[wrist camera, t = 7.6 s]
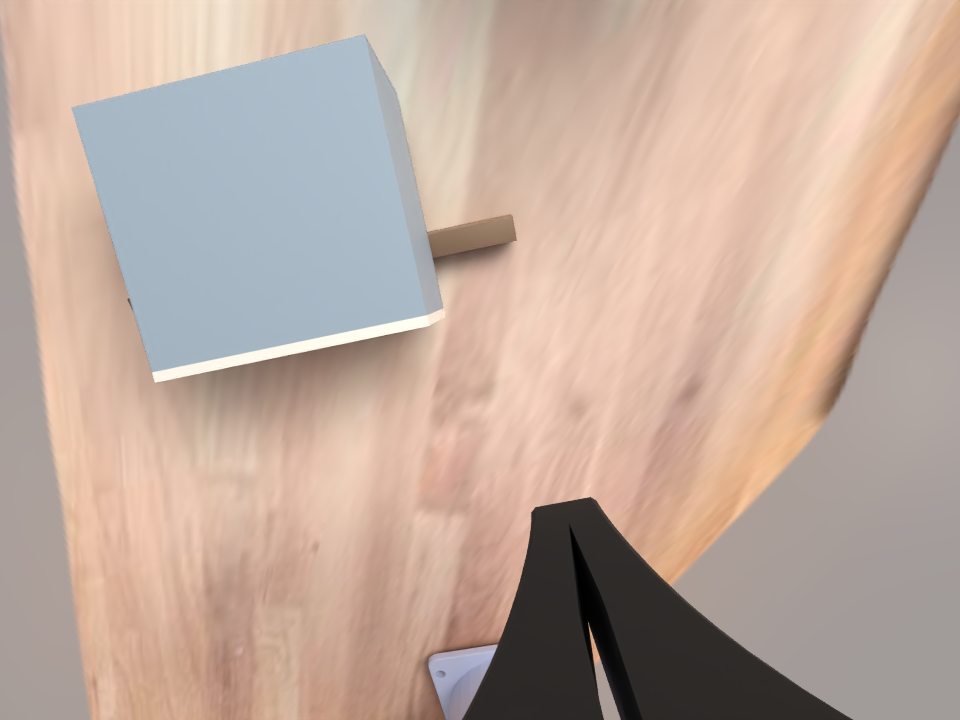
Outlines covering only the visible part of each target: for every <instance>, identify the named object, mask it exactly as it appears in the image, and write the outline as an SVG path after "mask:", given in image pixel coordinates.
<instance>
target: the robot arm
mask: <svg viewBox="0 0 960 720" xmlns="http://www.w3.org/2000/svg"><path fill="white" fill-rule="evenodd" d="M588 623H589V625H588ZM589 626H590V629H591V632H592V635H593V638H594V641H595V644H596V647H597V650H598V653H599V656H600V659H601V662H602V665H603V668H604V670H605V673H606V677H607V680H608V683H609V686H610V688H611V691H612V694H613V697H614V700H615V703H616V706H617V709H618V712H619V715H620V718H621V720H852V719H851V718H849V717H847V716H846V715H844V714H842V713H841V712H839V711H838V710H836V709H834V708H833V707H831V706H830V705H828V704H826V703H825V702H823V701H821V700H820V699H818V698H817V697H815V696H814V695H812V694H810V693H809V692H807V691H806V690H804V689H802V688H801V687H799V686H798V685H797V684H795V683H794V682H792V681H791V680H789V679H788V678H787V677H785V676H784V675H782V674H780V673H779V672H778V671H776V670H775V669H774V668H772V667H771V666H769V665H768V664H766V663H765V662H763V661H762V660H760V659H759V658H758V657H756V656H755V655H753V654H752V653H750V652H749V651H748V650H746V649H745V648H743V647H742V646H741V645H740V644H738V643H737V642H736V641H734V640H733V639H732V638H730V637H729V636H728V635H727V634H725V633H724V632H723V631H721V630H720V629H719V628H718V627H716V626H715V625H714V624H713V623H712V622H710V621H709V620H708V619H707V618H705V617H704V616H703V615H702V614H701V613H699V612H698V611H697V610H696V609H695V608H693V606H691V605H690V604H689V603H688V602H687V601H686V600H685V599H683V598H682V597H681V596H680V595H679V594H678V593H677V592H676V591H675V590H674V589H673V588H672V587H671V586H670V585H669V584H667V583H666V582H665V581H664V580H663V579H662V578H661V577H660V576H659V575H658V574H657V573H656V572H655V571H654V570H653V569H652V568H651V567H650V566H649V565H648V564H647V563H646V562H645V560H644V559H643V558H642V557H641V556H640V555H639V554H638V553H637V552H636V551H635V550H634V549H633V547H632V546H631V545H630V544H629V543H628V542H627V541H626V540H625V538H624V537H623V536H622V535H621V534H620V532H619V531H618V530H617V529H616V528H615V526H614V525H613V524H612V523H611V521H610V520H609V519H608V517H607V516H606V515H605V513H604V512H603V510H602V509H601V507H600V506H599V504H598V503H597V501H596V500H594V499H593V498H591V497H589V498H583V499H578V500H573V501H567V502H562V503H556V504H551V505H546V506H540V507H535V509H534V510H533V511H532V512H531V531H530V538H529V544H528V549H527V555H526V559H525V563H524V567H523V571H522V575H521V579H520V583H519V586H518V590H517V593H516V596H515V599H514V602H513V605H512V608H511V611H510V614H509V617H508V620H507V623H506V626H505V628H504V631H503V634H502V636H501V639H500V641H499V644H496V645H489V646H483V647H476V648H470V649H463V650H457V651H450V652H444V653H437V654H434V655H432V656H431V657H430V658H429V664H428V667H429V671H430V674H431V677H432V680H433V683H434V685H435V688H436V691H437V694H438V697H439V700H440V703H441V706H442V709H443V712H444V715H445V718H446V720H604V718H603V715H602V710H601V706H600V702H599V696H598V689H597V682H596V674H595V667H594V660H593V653H592V646H591V639H590V632H589Z"/></svg>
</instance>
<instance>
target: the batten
mask: <svg viewBox="0 0 960 720" xmlns="http://www.w3.org/2000/svg"><path fill="white" fill-rule="evenodd" d="M427 234H428V239H429V244H430V248H431V253H432V257H433V258H436V257H440V256H445V255H450V254H455V253H459V252H464V251H469V250H474V249H479V248H483V247H488V246H493V245H498V244H502V243H507V242H512V241H517V239H516V233H515V228H514V222H513V217H512V215H511V214H510V215H506V216H501V217H496V218H491V219H487V220H482V221H477V222H473V223H468V224H463V225H459V226H454V227H449V228H445V229H440V230H435V231H431V232H427ZM128 301H129V303H130V306H131V308H132V305H131V302H130V298H129V299H128ZM132 310H133V308H132ZM133 312H134V311H133Z"/></svg>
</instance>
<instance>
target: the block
mask: <svg viewBox="0 0 960 720" xmlns="http://www.w3.org/2000/svg"><path fill="white" fill-rule="evenodd" d="M72 111H73V114H74V117H75V121H76V124H77V127H78V130H79V134H80V137H81V140H82V144H83V147H84V150H85V153H86V157H87V160H88V163H89V167H90V170H91V173H92V176H93V180H94V183H95V186H96V190H97V193H98V196H99V200H100V203H101V206H102V209H103V213H104V216H105V219H106V223H107V226H108V229H109V232H110V236H111V239H112V242H113V246H114V249H115V252H116V256H117V259H118V262H119V265H120V269H121V272H122V275H123V279H124V282H125V285H126V288H127V292H128V295H129V298H130V302H131V305H132V308H133V311H134V315H135V318H136V321H137V325H138V328H139V331H140V335H141V338H142V341H143V344H144V348H145V351H146V354H147V358H148V361H149V364H150V367H151V371H152V374H153V377H154V381H155V383H156V382H161V381H166V380H170V379H175V378H180V377H185V376H190V375H195V374H199V373H204V372H209V371H214V370H219V369H224V368H228V367H233V366H238V365H243V364H248V363H253V362H258V361H262V360H267V359H272V358H277V357H282V356H287V355H291V354H296V353H301V352H306V351H311V350H316V349H320V348H325V347H330V346H335V345H340V344H345V343H349V342H354V341H359V340H364V339H369V338H374V337H379V336H383V335H388V334H393V333H398V332H403V331H408V330H412V329H417V328H422V327H427V326H430V325H432V324H434V323H435V322H437V321H439V320H440V319H442V318H444V317H445V313H444V308H443V303H442V299H441V294H440V290H439V285H438V280H437V276H436V271H435V267H434V262H433V257H432V253H431V248H430V244H429V239H428V234H427V230H426V225H425V221H424V216H423V211H422V207H421V202H420V198H419V193H418V189H417V184H416V179H415V175H414V170H413V166H412V161H411V156H410V152H409V147H408V143H407V138H406V133H405V129H404V124H403V120H402V115H401V110H400V106H399V101H398V97H397V93H396V91H395V89H394V87H393V86H392V84H391V82H390V80H389V78H388V76H387V75H386V73H385V71H384V69H383V67H382V65H381V64H380V62H379V60H378V58H377V56H376V54H375V53H374V51H373V49H372V47H371V45H370V43H369V42H368V40H367V38H366V36H365V35H361V36H357V37H353V38H349V39H345V40H341V41H337V42H333V43H329V44H325V45H321V46H317V47H313V48H309V49H305V50H301V51H297V52H293V53H289V54H285V55H281V56H277V57H273V58H269V59H265V60H261V61H257V62H253V63H249V64H245V65H241V66H237V67H233V68H229V69H225V70H221V71H217V72H213V73H209V74H205V75H201V76H197V77H193V78H189V79H185V80H181V81H177V82H173V83H169V84H165V85H161V86H157V87H153V88H149V89H145V90H141V91H137V92H133V93H129V94H125V95H121V96H117V97H113V98H109V99H105V100H101V101H97V102H93V103H89V104H85V105H81V106H77V107H73V108H72Z"/></svg>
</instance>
